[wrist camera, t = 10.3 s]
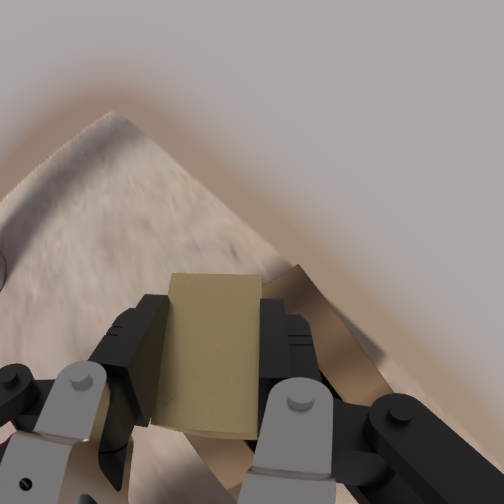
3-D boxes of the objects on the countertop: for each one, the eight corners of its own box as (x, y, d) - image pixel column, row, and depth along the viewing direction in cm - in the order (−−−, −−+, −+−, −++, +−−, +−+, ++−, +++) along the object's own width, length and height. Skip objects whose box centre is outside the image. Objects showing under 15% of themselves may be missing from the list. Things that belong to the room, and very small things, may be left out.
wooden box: (177, 370, 34) (140, 364, 22) (283, 302, 37) (298, 263, 25) (249, 472, 29) (249, 515, 17) (355, 400, 32) (404, 406, 21)
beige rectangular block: (209, 358, 18) (172, 272, 10) (258, 360, 18) (262, 275, 10) (204, 437, 15) (150, 424, 7) (257, 439, 15) (259, 433, 7)
